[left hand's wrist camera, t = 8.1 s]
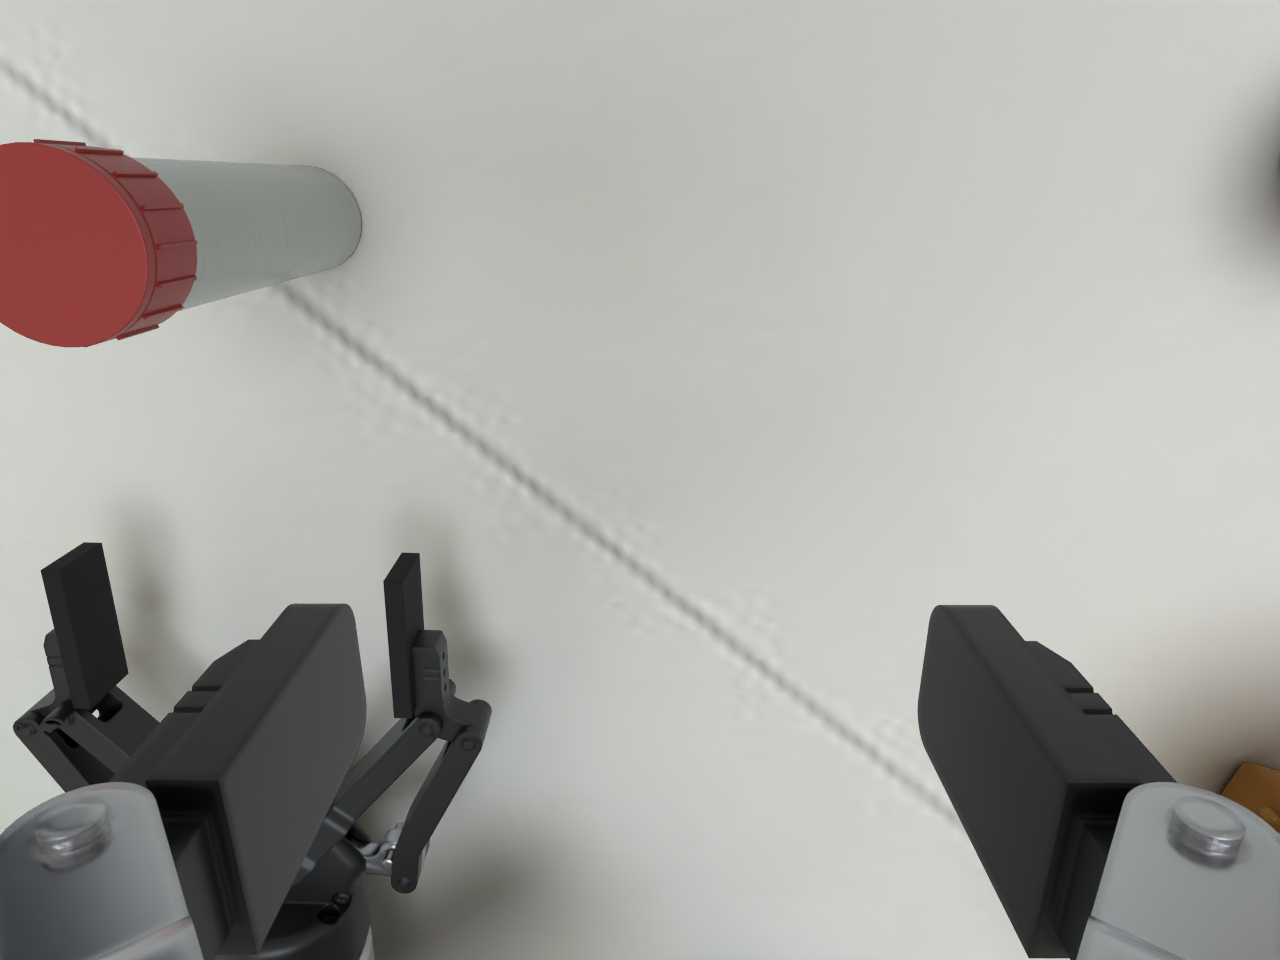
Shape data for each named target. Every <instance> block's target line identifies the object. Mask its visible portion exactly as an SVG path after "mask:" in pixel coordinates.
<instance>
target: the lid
mask: <svg viewBox="0 0 1280 960" xmlns="http://www.w3.org/2000/svg"><path fill="white" fill-rule="evenodd" d="M123 152H124V151H121V150H115V149H105V148H99V147H92V146H86V144H85V143H82V142H68V141H54V140H40V139H34V143H31V142H15V143H9V144H3V145H0V322H1V323H2V324H4V325H5V326H7V327H8V328H10V329H12V330H13V331H15V332H17V333H19V334H21V335H23V336H25V337H27V338H30V339H32V340H35V341H38V342H41V343H45V344H49V345H53V346H60V347H88V346H92V345H95V344H98V343H102V342H105V341H108V340H112V339H115V338H117V339H118V340H121V339H124V338H128V337H131V336H134V335H138V334H141V333H144V332H147V331H151V330H154V329H157V328H159V326H158V324H160V323H162V322H164V321H165V320H167V319H168V318H170V317H171V316H172V315H173V314H174V313H176V312H177V311H179V310H182V309H183V308H184V307H183V306H182V305H183V303H184V302H185V301H186V299H187V297H188V295H189V293H190V291H191V289H192V286H193V283H194V281H196V280H197V276H195V275H196V270H197V246H196V245H197V244H198V243H197V240H195V236H194V233H193V229H192V226H191V223H190V221H189V219H188V216H187V214H186V212H185V210H184V209H183V208H184V205H183V203H180V202H179V200H178V199H177V197H176V196H175V195H174V193H173V192H172V191H171V189H170V188H169V187H168V186H167V185H166V184H165V183H164V182H163V181H162V180H161V179H160V178H159V177H158V173H157V172H156V171H151V170H150V169H148V168H147V167H145V166H144V165H143V164H141V163H140V162H138V161H136V160H134V159H132V158H131V157H129V156H126V155H124V154H123Z"/></svg>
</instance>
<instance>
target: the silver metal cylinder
mask: <svg viewBox="0 0 1280 960" xmlns="http://www.w3.org/2000/svg"><path fill="white" fill-rule="evenodd" d="M132 159H134V160H136V161H138V162H140V163H141V164H143V165H144V166H145V167H147V168H148V169H150V170H151V171H156V172H157V173H158V177H159V178H160V179H161V180H162V181H163V182H164V183H165V184H166V185H167V186H168V187H169V188H170V189H171V191H172V192H173V193H174V195H175V196H176V197H177V199H178V200H179V202H180V203H183V205H184V208H183V209H184V210H185V212H186V214H187V216H188V219H189V221H190V223H191V226H192V229H193V233H194V236H195V240H197V243H198V244H197V245H196V246H197V270H196V275H195V276H197V280H196V281H194V283H193V286H192V289H191V291H190V293H189V295H188V297H187V299H186V301H185V302H184V303H183V305H182V306H183V307H184V308H183V309H182V310H184V309H187V308H191V307H195V306H198V305H202V304H205V303H209V302H213V301H216V300H220V299H223V298H227V297H230V296H234V295H238V294H241V293H245V292H248V291H252V290H255V289H259V288H263V287H266V286H270V285H273V284H277V283H281V282H284V281H288V280H291V279H295V278H298V277H302V276H306V275H309V274H313V273H316V272H320V271H324V270H327V269H331V268H334V267H336V266H338V265H340V264H342V263H343V262H345V261H346V260H347V259H348V258H349V257H350V256H351V255H352V254H353V252H354V251H355V249H356V247H357V245H358V243H359V239H360V236H361V227H362V222H361V215H360V210H359V207H358V204H357V202H356V200H355V198H354V196H353V194H352V193H351V191H350V190H349V189H348V188H347V186H346V185H345V184H344V183H343V182H342V181H341V180H340V179H338V178H337V177H336V176H334V175H333V174H331V173H329V172H327V171H325V170H323V169H320V168H316V167H310V166H293V165H273V164H252V163H232V162H211V161H190V160H170V159H149V158H132ZM179 311H180V310H179Z"/></svg>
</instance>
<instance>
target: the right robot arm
mask: <svg viewBox="0 0 1280 960" xmlns="http://www.w3.org/2000/svg"><path fill="white" fill-rule="evenodd" d="M41 574H42V578H43V582H44V586H45V591H46V595H47V599H48V603H49V608H50V612H51V616H52V620H53V624H54V629H53V630H52V631H51V632H49V633H48V634H47V635H46V637H45V641H44V649H45V653H46V656H47V661H48V665H49V669H50V674H51V678H52V682H53V686H54V689H53V690H52V691H50V692H49V693H48V694H47V695H46V696H44V697H43V698H42V699H41V700H40V701H39V702H38V703H36V704H35V705H34V706H33V707H32V708H31V709H29V710H28V711H27V712H26V713H25V714H24V715H23V716H21V717H20V718H19V719H18V720H17V721H16V722H15V723H14V725H13V730H14V732H15V734H16V735H17V736H18V738H19V739H20V740H21V741H22V742H23V743H24V745H25V746H26V747H27V748H28V749H29V750H30V752H31V753H32V754H33V755H34V756H35V757H36V759H37V760H38V761H39V762H40V763H41V764H42V766H43V767H44V768H45V769H46V770H47V771H48V773H49V774H50V775H51V776H52V777H53V778H54V780H55V781H56V782H57V783H58V784H59V785H60V787H61V788H62V789H63V790H64V791H65V792H69V791H72V790H75V789H78V788H81V787H85V786H90V785H94V784H100V783H107V782H109V781H110V780H111V778H112V777H113V776H114V775H115V774H116V773H117V772H118V770H119V769H120V768H121V767H122V766H123V765H124V764H125V762H126V761H127V760H128V759H129V758H130V757H131V756H132V754H133V753H134V752H135V751H136V750H137V749H138V748H139V747H140V745H141V744H142V743H143V742H144V741H145V740H146V739H147V737H148V736H149V735H150V734H151V733H152V732H153V731H154V729H155V728H156V727H157V726H158V725H159V724H160V723H159V722H158V721H157V720H156V719H155V718H153V717H152V716H151V715H150V714H149V713H148V712H146V711H145V710H144V709H143V708H142V707H140V706H139V705H138V704H137V703H136V702H135V701H133V700H132V699H131V698H130V697H129V696H128V695H126V694H125V693H124V692H123V691H122V690H120V689H119V688H118V687H117V686H116V685H117V684H118V683H119V682H120V681H121V680H122V679H123V678H124V677H125V676H126V675H127V674H128V668H127V664H126V659H125V654H124V649H123V644H122V639H121V635H120V630H119V625H118V620H117V615H116V610H115V605H114V601H113V596H112V591H111V586H110V581H109V576H108V571H107V567H106V562H105V557H104V552H103V547H102V543H85V542H84V543H82V544H81V545H79V546H78V547H76V548H75V549H73V550H72V551H70V552H68V553H67V554H65V555H64V556H62V557H61V558H59V559H58V560H56V561H55V562H53V563H51V564H50V565H48V566H47V567H45V568H44V569H42V570H41ZM383 582H384V594H385V607H386V620H387V632H388V645H389V658H390V670H391V683H392V695H393V708H394V718H401V719H400V720H399V721H398V722H397V723H396V724H395V725H394V726H393V727H392V728H391V730H390V731H389V732H388V733H387V734H386V735H385V736H384V737H383V738H382V739H381V740H380V741H379V742H378V743H377V744H376V745H375V746H374V747H373V748H372V749H371V750H370V751H369V752H368V753H367V754H366V755H365V756H364V758H363V759H362V760H361V761H360V762H359V763H358V764H357V765H356V766H355V767H354V768H353V769H352V770H351V769H349V770H348V771H347V773H346V775H345V777H344V779H343V781H342V783H341V785H340V788H339V790H338V792H337V794H336V796H335V798H334V800H333V802H332V804H331V806H330V808H329V810H328V812H327V814H326V816H325V818H324V820H323V822H322V824H321V826H320V828H319V830H318V832H317V834H316V836H315V838H314V841H313V843H312V845H311V847H310V849H309V851H308V853H307V855H306V857H305V859H304V861H303V863H302V865H301V867H300V869H299V871H298V873H297V875H296V877H295V879H294V881H293V883H292V885H291V887H290V889H289V891H288V894H287V896H286V898H285V900H284V902H283V904H282V906H281V908H280V910H279V912H278V914H277V916H276V918H275V920H274V922H273V924H272V926H271V928H270V930H269V932H268V934H267V936H266V938H265V940H264V942H263V944H262V947H261V949H260V951H259V953H258V955H217V956H216V958H215V960H375V959H374V949H373V939H372V930H371V926H370V905H369V895H368V885H367V876H366V873H367V874H376V875H384V876H391V885H392V887H393V888H394V890H396V891H397V892H400V893H410V892H412V891H413V890H415V888H416V885H417V882H418V879H419V876H420V873H421V870H422V867H423V864H424V861H425V857H426V854H427V851H428V848H429V841H430V837H431V835H432V834H433V832H434V830H435V828H436V827H437V825H438V823H439V821H440V820H441V818H442V816H443V815H444V813H445V811H446V809H447V808H448V806H449V804H450V802H451V801H452V799H453V797H454V796H455V794H456V792H457V790H458V789H459V787H460V785H461V783H462V782H463V780H464V778H465V776H466V775H467V773H468V771H469V770H470V768H471V766H472V764H473V763H474V761H475V759H476V757H477V756H478V754H479V752H480V751H481V748H482V745H483V741H484V739H485V735H486V731H487V728H488V724H489V721H490V716H491V713H492V710H491V707H490V705H489V704H488V703H487V702H485V701H483V700H473V701H471V702H469V703H468V702H465V701H462V700H460V699H458V698H456V697H455V696H454V694H455V691H456V686H455V683H454V682H453V681H452V680H451V679H449V674H448V654H447V640H446V638H445V636H444V634H443V632H442V631H438V630H424V620H423V604H422V588H421V572H420V555H419V553H401V555H400V557H399V558H398V560H397V561H396V563H395V564H394V566H393V567H392V569H391V570H390V572H389V574H388V575H387V577H386V578H385V580H384V581H383ZM96 709H97V710H98V711H99V717H98V718H96V717H95V716H94V715H92V713H93V712H94V711H95V710H96ZM437 738H441V739H444V740H447V742H446V744H445V745H444V747H443V749H442V751H441V753H440V754H439V756H438V758H437V760H436V762H435V763H434V765H433V767H432V769H431V771H430V772H429V774H428V776H427V778H426V780H425V781H424V783H423V785H422V787H421V788H420V790H419V792H418V794H417V796H416V797H415V799H414V801H413V803H412V805H411V807H410V809H409V812H408V815H407V817H406V820H405V823H398V824H396V826H395V828H394V829H391V830H389V831H388V832H387V833H386V835H385V837H384V839H383V840H382V841H380V842H377V843H372V840H371V838H370V836H369V834H368V833H367V832H366V831H365V830H364V829H363V828H362V827H361V826H360V825H359V824H358V823H357V822H356V820H357V819H358V818H359V816H360V815H361V814H362V813H363V812H364V811H365V810H366V809H367V808H368V807H369V806H370V805H371V804H372V803H373V802H374V801H375V800H376V799H377V798H378V797H379V796H380V795H381V794H382V793H383V792H384V791H385V790H386V789H387V788H388V787H389V786H390V785H391V784H392V783H393V782H394V781H395V780H396V779H397V778H398V777H399V776H400V775H401V774H402V773H403V772H404V771H405V770H406V769H407V768H408V767H409V766H410V765H411V764H412V763H413V762H414V761H415V760H416V759H417V758H418V757H419V756H420V755H421V754H422V753H423V752H424V751H425V750H426V749H427V748H428V747H429V746H430V745H431V744H432V743H433V742H434V741H435V740H436V739H437Z"/></svg>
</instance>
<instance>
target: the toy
mask: <svg viewBox="0 0 1280 960" xmlns="http://www.w3.org/2000/svg"><path fill="white" fill-rule="evenodd" d="M1220 795H1221V796H1224V797H1226V798H1228V799H1230V800H1232V801H1234V802H1236V803H1238V804H1240V805H1242V806H1243V807H1245V808H1247V809H1248V810H1250V811H1252V812H1253V813H1254V814H1256V815H1257V816H1259V817H1260V818H1261V819H1263V820H1264V821H1265V822H1266V823H1268V824H1269V825H1270V826H1271V827H1272V828H1273V829H1274V830H1275V831H1276V832H1277V833H1278V834H1279V835H1280V771H1279V770H1275V769H1272V768H1268V767H1265V766H1261V765H1258V764H1254V763H1243V764H1242V765H1241V766H1240V767H1239V769H1238V770H1237V772H1236V773H1235V774H1234V776H1233V777H1232V779H1231V780H1230V782H1229V783H1228V784H1227V786H1226V787H1225V789H1224V790H1223V792H1222V793H1221V794H1220Z"/></svg>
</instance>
